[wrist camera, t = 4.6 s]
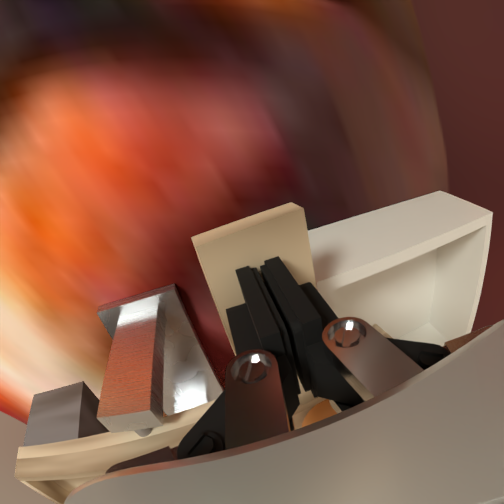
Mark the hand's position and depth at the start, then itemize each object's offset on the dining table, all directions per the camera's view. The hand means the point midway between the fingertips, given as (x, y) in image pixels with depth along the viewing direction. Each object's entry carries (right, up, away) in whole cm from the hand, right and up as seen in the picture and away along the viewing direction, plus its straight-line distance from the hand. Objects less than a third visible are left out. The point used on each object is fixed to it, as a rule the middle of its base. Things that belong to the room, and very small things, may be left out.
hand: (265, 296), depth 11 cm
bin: (+10, -2, +12) cm, 16 cm away
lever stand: (-7, -7, +11) cm, 15 cm away
